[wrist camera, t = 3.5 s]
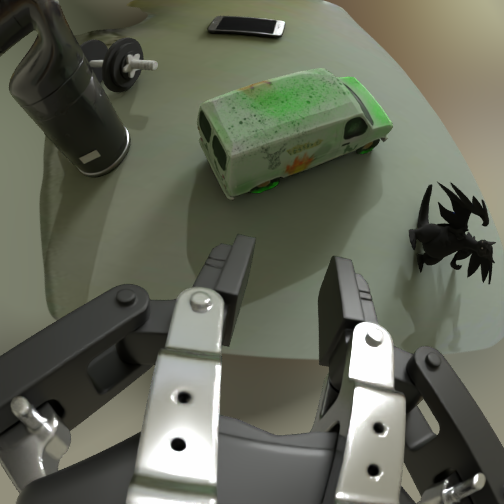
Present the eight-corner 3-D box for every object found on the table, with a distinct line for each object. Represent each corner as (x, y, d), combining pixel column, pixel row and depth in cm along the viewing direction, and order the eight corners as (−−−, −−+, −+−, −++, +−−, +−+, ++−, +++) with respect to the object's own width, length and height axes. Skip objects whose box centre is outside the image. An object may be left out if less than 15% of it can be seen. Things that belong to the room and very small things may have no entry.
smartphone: (216, 17, 46) (215, 14, 45) (285, 23, 46) (286, 20, 45) (206, 33, 45) (205, 30, 44) (281, 39, 44) (281, 36, 43)
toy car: (384, 147, 38) (411, 107, 28) (229, 210, 35) (222, 169, 26) (345, 98, 40) (361, 53, 30) (198, 146, 38) (185, 97, 28)
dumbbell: (176, 69, 42) (165, 26, 32) (147, 108, 40) (128, 64, 30) (91, 65, 43) (75, 32, 34) (63, 99, 41) (41, 67, 32)
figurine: (425, 257, 40) (487, 243, 33) (424, 320, 32) (500, 307, 25) (394, 169, 34) (468, 147, 27) (393, 224, 26) (495, 197, 19)
